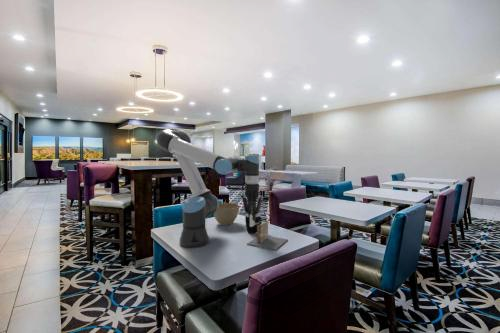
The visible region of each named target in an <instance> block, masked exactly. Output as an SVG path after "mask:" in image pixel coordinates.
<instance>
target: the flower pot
mask: <svg viewBox="0 0 500 333" xmlns="http://www.w3.org/2000/svg"><path fill="white" fill-rule="evenodd" d="M239 211H240V205H239V204H238V203H232V202H222V203H219V207H218V210H217V211H216V212H215V213H214V214H213V216H214V219H215V220H216V222H217V223H218V224H219V225H220V226H230V225H233V223H234V222H235V220H236V219H237V217H238V215H239Z"/></svg>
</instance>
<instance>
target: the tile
mask: <svg viewBox="0 0 500 333" xmlns="http://www.w3.org/2000/svg"><path fill="white" fill-rule="evenodd" d="M268 236H269V222H268V221H262V223H261V224H260V225H258V226H257V233H256V238H257V243H260V244H261V243H262V242H263V241H265V240H266V239H268Z"/></svg>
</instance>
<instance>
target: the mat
mask: <svg viewBox="0 0 500 333" xmlns="http://www.w3.org/2000/svg"><path fill="white" fill-rule="evenodd" d="M287 242H288V239H287V238H282V237H276V236H272V235H268V239H266V240H265V241H263V242H262V243H261V244H260V243H257V237H255V238H253V239H252V240H250V241H249V242H247V243H246V244H247V246H252V247H256V248H260V247H261V248H260V249H265V248H266V250H270V251H274V250H275V251H276V252H277V250H278V249H280V248H281V247H282V246H283V245H284V244H285V243H287ZM280 246H281V247H280ZM279 247H280V248H279ZM275 251H274V252H275Z"/></svg>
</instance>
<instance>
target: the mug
mask: <svg viewBox="0 0 500 333" xmlns="http://www.w3.org/2000/svg"><path fill="white" fill-rule="evenodd" d="M244 220H245V228H246V231H247V233H248V234H257V226H258V225H260V224H261V223H263V219H262V217H261V214H259V213H258V214H256V220H255V221H254V226H253V227H250V220H249V219H248V213H245V219H244Z"/></svg>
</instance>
